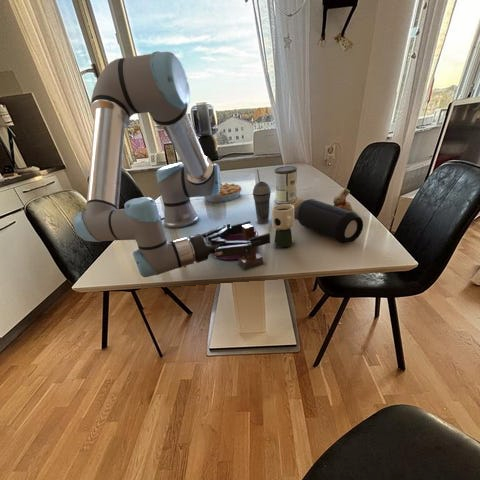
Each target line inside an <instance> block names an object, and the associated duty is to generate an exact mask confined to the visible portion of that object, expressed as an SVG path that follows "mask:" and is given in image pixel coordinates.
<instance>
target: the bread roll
mask: <svg viewBox="0 0 480 480" xmlns="http://www.w3.org/2000/svg"><path fill="white" fill-rule="evenodd" d="M305 200H306V199H303V198H296V200H295V201H293V202H291V203H290V204H291V205H293V206H294V219H297V217H296V211H297V208H298V206H299V205H300V203H301V202H303V201H305Z"/></svg>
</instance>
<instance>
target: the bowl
mask: <svg viewBox="0 0 480 480" xmlns="http://www.w3.org/2000/svg"><path fill="white" fill-rule="evenodd" d="M254 233H255V237H257V236H259V232H258V231H257V230H256V229H254ZM225 239H226V240H227V241H243V236H242V233H239V234H235V235H232V233H231V234H230V235H229V236H228V237H226V238H225ZM259 249H260V246H258V247H256V252H258V250H259ZM211 256H213V257H214V258H216V254H211ZM241 256H244V254H241V255H232V256H224V257H220V258H219V260H230V261H231V260H232V261H233V260H238V257H241Z"/></svg>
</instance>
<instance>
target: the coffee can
mask: <svg viewBox="0 0 480 480" xmlns="http://www.w3.org/2000/svg"><path fill="white" fill-rule="evenodd" d="M297 173H298V167H297V166H295V165H294V166H292V165H291V166H290V165H285V166H279V167H277V168H275V169H274V190H275V203H277V204H291V203H292V202H293V201H295V200H297V181H298V180H297V179H298V178H297V176H298V175H297Z"/></svg>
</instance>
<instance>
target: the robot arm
mask: <svg viewBox="0 0 480 480" xmlns="http://www.w3.org/2000/svg"><path fill="white" fill-rule="evenodd" d="M90 100H91V101H90V112H91V113H90V114H91V115H92V117H93V127H92V128H93V129H92V140H91V151H90V163H89V172H88V174H89V175H88V184H87V185H88V187H87V197H86V206H85V210H81V211H78V212H77V213H76V215H75V216H74V217H73V227H74V231H75V233H76V234H77V236H78V237H79V238H80V239H82V241H86V242H94V243H95V242H96V243H102V242H112V241H135V242H136V245H137V248H138V249H136V250H134V251H133V252H132V256H133V258H134V261H135V264H136V267H137V269H138V272H139V275H140V276H141V277H143V278H149V277H153V276H159V275H161V274H164V273H167V272H170V271H174V270H177V269H180V268H187V267H189V266H191V265H194V264H195V263H197V264H199V263H202V262H205V261H208V260H209V257H210V255H212V254H216V257H215V258H216V259H220V257H224V256H232V255H241V254H250V253H252V250H251V248H255V247H258V246H259V247H262V246H265V245H268V244H271V234H270V233H269V232H267V233H264V234H261V235H258V236H257V237H253V238H250V239H248V241H227V240H226V239H225V238H226V237H228V236H229V235H230V234H231V233H232V235H235V234H239V233H242V226H243V225H246V224H251V225H252V222H251V220H248V221H245V222H240V223H237V224H233V225H231V223H229V222H228V223H226V224H222V225H220V226H217V227H216V228H214V229H212V230H209V231H207V232H204V233H198V234H194V235H190V236H188V238H187V237H181V238H178V239H175V240H170V241H168V240H167V236H166V233H165V229H164V226H165V227H166V228H169V229H170V228H171V229H180V228H185V227H189V226H193V225H194V224H195V223H197V222H198V220H199V218H198V214H197V212H196V211H195V208H194V206H193V204H192V202H191V198H200V197H203V198H205V197H204V196H215V195H218V194H219V192H220V184H221V169H220V165H219V164H218V163H213V162H212V160H211V159H210V158H209V157H208V156H206V155H205V153H204V151H203V147H202V146H201V143H200V140H199V137H198V136H197V134H196V131H195V128H194V126H193V124H192V120H191V119H190V116H189V114H188V109H189V105H190V102H191V91H190V85H189V82H188V77H187V73H186V71H185V68H184V66H183V63H182V62H181V60H180V59H179V58H178V56H177V55H176V54H174V53H173V52H171V51H158V50H157V51H154V52H152V53H148V54H142V55H134V56H128V57H120V58H116V59H114V60H112V61H110V62H109V63H108V64H107V65H106V66H105V67H104V69H103V70H102V71H101V72H100V74H99V76H98V78H97V80H96V82H95V85H94V87H93V90H92V95H91V99H90ZM146 113H149V115H150V117H151V119H152V120H153V121H154V123H155V124H157V125H159V126H161V127H162V128H163V130H164V132H165V134H166V136H167V137H168V139H169V141H170V143H171V145H172V146H173V148H174V150H175V152H176V154H177V156H178V158H179V159H180V161H181V162H175V163H171V164H168V165H165V166H162V167H160V168H158V169H157V171H156V173H155V175H156V180H157V184H158V188H159V192H160V196H161V200H162V202H163V206H164V209H163V210H164V211H163V215H164V216H163V217H162V216H161V213H160V211H159V208H158V205H157V202H156V201H155V199H153V198H151V197H149V196H148V197H147V196H141V197H138V198H137V197H136V198H132V199H129V200H127V201H125V203H124V208H119V206H120V196H121V195H120V194H121V181H122V170H123V168H122V167H123V158H124V144H125V133H126V131H125V130H126V129H127V128H128V127H129V125H130V122H131V121H130V120H131V119H130V118H131V117H132V116H133V115H137V114H146ZM163 223H164V225H163Z"/></svg>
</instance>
